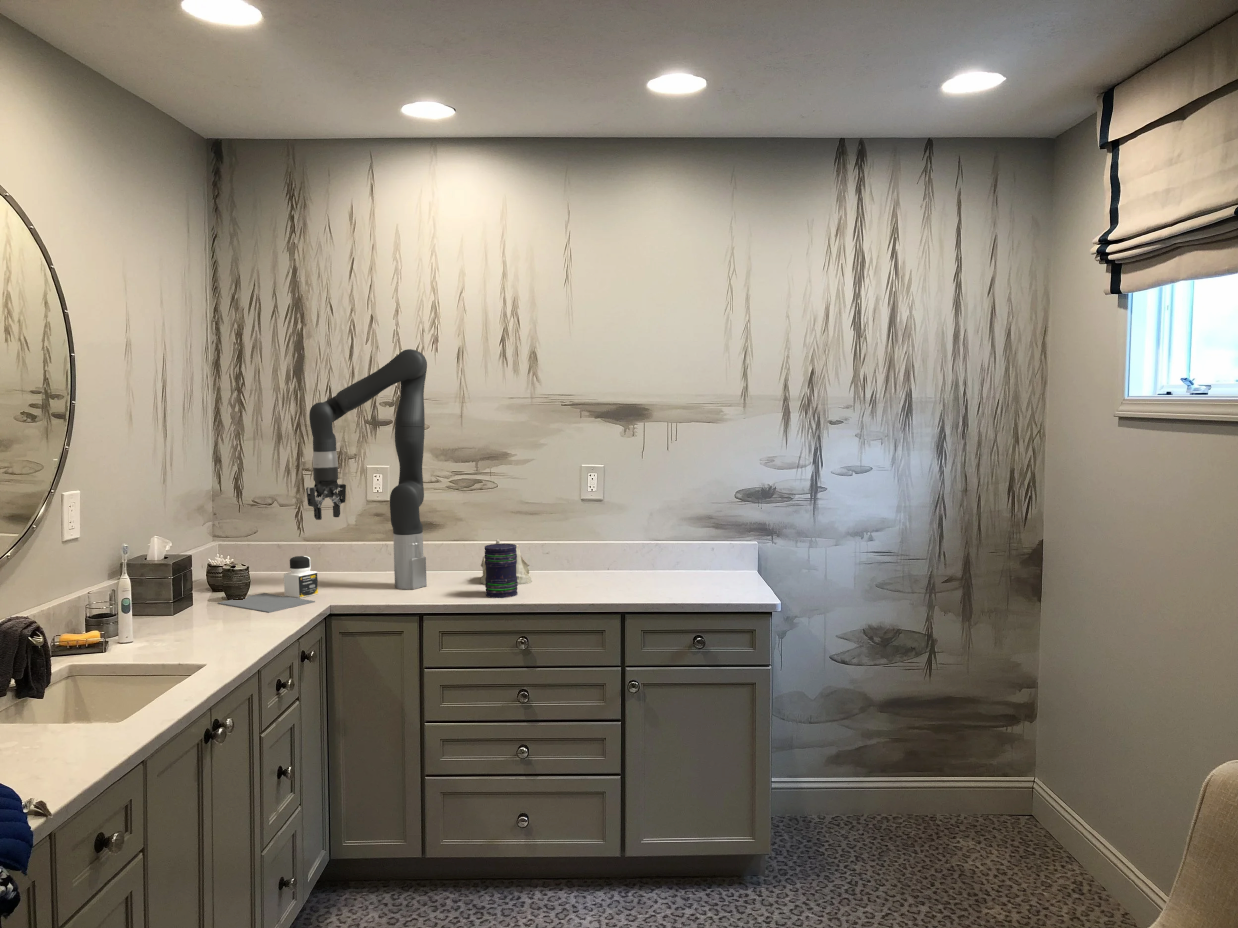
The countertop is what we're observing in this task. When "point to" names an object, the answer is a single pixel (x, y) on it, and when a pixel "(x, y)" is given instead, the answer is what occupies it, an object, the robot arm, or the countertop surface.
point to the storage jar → (501, 570)
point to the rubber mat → (267, 602)
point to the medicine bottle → (300, 578)
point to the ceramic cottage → (521, 568)
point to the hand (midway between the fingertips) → (327, 518)
